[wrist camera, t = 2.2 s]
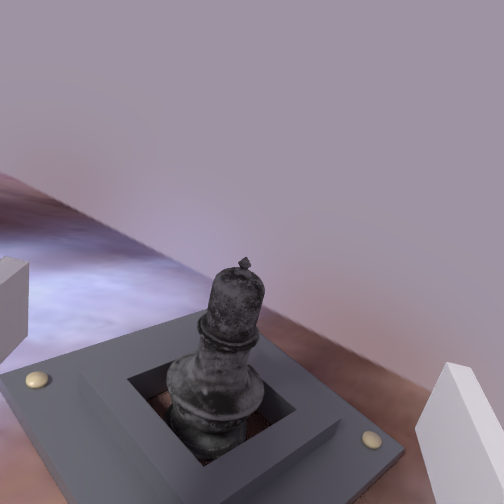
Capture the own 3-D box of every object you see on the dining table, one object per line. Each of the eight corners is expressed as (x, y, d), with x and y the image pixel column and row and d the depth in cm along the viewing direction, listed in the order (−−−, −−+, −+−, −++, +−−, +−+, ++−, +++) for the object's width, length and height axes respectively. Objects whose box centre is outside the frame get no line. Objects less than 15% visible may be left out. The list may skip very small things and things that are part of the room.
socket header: (-2, 387, 29) (-2, 355, 28) (221, 313, 41) (226, 289, 40) (171, 674, 18) (181, 639, 17) (399, 458, 31) (413, 431, 30)
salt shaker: (213, 380, 34) (250, 227, 29) (270, 438, 30) (323, 274, 25) (140, 411, 30) (167, 239, 25) (195, 482, 26) (240, 298, 21)
